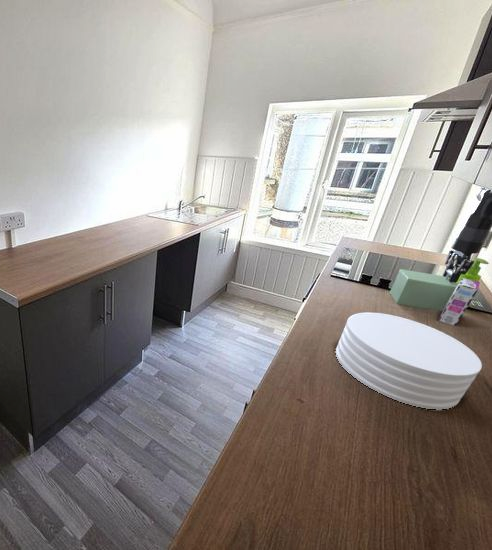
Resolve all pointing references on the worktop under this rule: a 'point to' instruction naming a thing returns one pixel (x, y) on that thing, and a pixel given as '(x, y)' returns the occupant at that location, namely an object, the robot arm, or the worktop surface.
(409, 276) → the lid
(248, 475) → the worktop surface
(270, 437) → the worktop surface
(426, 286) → the chest
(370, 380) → the plate stack
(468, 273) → the soap dispenser
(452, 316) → the candy bar box
